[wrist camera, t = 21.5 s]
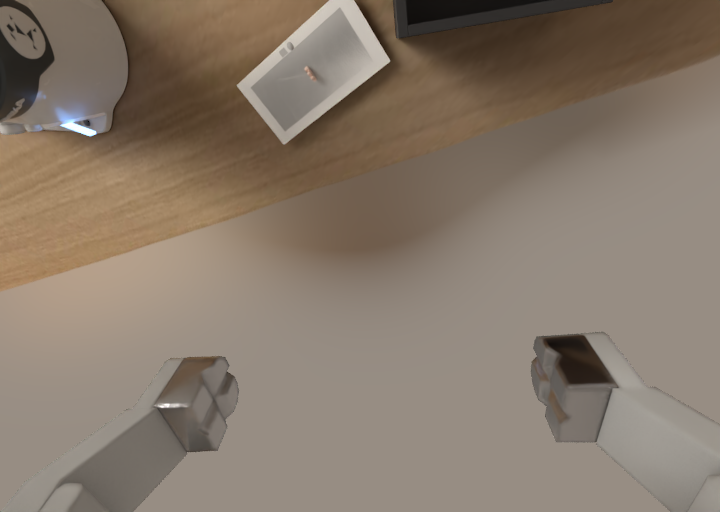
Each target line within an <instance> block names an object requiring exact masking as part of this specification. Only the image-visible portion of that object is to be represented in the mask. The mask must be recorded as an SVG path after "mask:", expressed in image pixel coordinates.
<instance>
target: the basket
mask: <svg viewBox="0 0 720 512" xmlns="http://www.w3.org/2000/svg"><path fill="white" fill-rule="evenodd" d="M610 2H613V0H393V6H394V18H395V30H396V38H404V37H410V36H416V35H422V34H428V33H434V32H439V31H445V30H451V29H457V28H463V27H469V26H475V25H481V24H487V23H492V22H498V21H504V20H510V19H516V18H522V17H528V16H534V15H540V14H546V13H551V12H557V11H563V10H569V9H575V8H581V7H587V6H593V5H599V4H604V3H610Z"/></svg>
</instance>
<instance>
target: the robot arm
mask: <svg viewBox="0 0 720 512" xmlns="http://www.w3.org/2000/svg"><path fill="white" fill-rule="evenodd" d="M127 79H128V57H127V52H126V47H125V43H124V40H123V37H122V35H121V32H120V30H119V28H118V25H117V23H116V21H115V20H114V18H113V16H112V14H111V13H110V11H109V10H108V8H107V7H106V5H105V4H104V3H103V1H102V0H0V133H1V134H3V135H12V134H20V133H24V132H26V130H27V131H28V132H36V131H41V130H55V131H70V132H80V133H83V134H85V135H88V136H91V135H95V134H96V133H105V132H108V131H109V130H110V128H111V125H112V118H113V109H114V107H115V105H116V103H117V102H118V100H119V99H120V97H121V96H122V94H123V92H124V90H125V87H126V84H127ZM87 119H88V120H89V121H90V124H89V123H88V121H87ZM533 349H534V351H535V353H536V355H537V357H536V358H535V359H534V360H533V361H532V364H531V377H532V383H533V387H534V390H535V393H536V395H537V398H538V400H539V401H540V402H542V403H543V404H544V405H546V406H547V407H546V414H545V417H546V419H547V422H548V424H549V427H550V429H551V431H552V433H553V436H554V438H555V441H556V442H596V445H597V446H599V447H600V448H601V449H602V450H603V451H604V452H605V453H606V454H607V455H609V456H610V457H611V458H612V459H613V460H614V461H615V462H616V463H617V464H618V465H620V466H621V467H622V468H623V469H624V470H625V471H626V472H627V473H628V474H629V475H631V476H632V477H633V478H634V479H635V480H636V481H637V482H638V483H639V484H640V485H642V486H643V487H644V488H645V489H646V490H647V491H648V492H650V494H651V495H653V496H654V497H655V498H656V499H657V500H658V501H659V502H660V503H661V504H663V505H664V506H665V507H666V508H667V509H668V510H669V511H670V512H720V424H719V423H717V422H715V421H714V420H712V419H710V418H708V417H707V416H705V415H703V414H702V413H700V412H698V411H696V410H694V409H693V408H691V407H689V406H687V405H686V404H684V403H682V402H680V401H679V400H677V399H675V398H674V397H672V396H670V395H668V394H667V393H665V392H663V391H661V390H660V389H658V388H656V387H647V386H646V384H645V383H644V382H643V380H642V379H641V378H640V376H639V375H638V374H637V372H636V371H635V370H634V368H633V367H632V366H631V364H630V363H629V362H628V360H627V359H626V358H625V357H624V355H623V354H622V353H621V351H620V350H619V349H618V347H617V346H616V345H615V343H614V342H613V341H612V339H611V338H610V337H609V335H607V334H606V333H604V332H595V333H581V334H568V335H553V336H539V337H536V339H535V341H534V347H533ZM228 367H229V364H228V362H227V360H226V358H225V357H222V356H212V357H187V358H170V359H169V360H167V361H166V362H165V363H164V364H163V366H162V367H161V369H160V370H159V371H158V373H157V374H156V376H155V377H154V379H153V380H152V381H151V383H150V384H149V386H148V387H147V389H146V390H145V391H144V393H143V394H142V396H141V397H140V399H139V400H138V402H137V403H136V404H135V406H134V407H133V409H126V410H125V411H124V412H123V413H121V414H119V415H118V416H117V417H115V418H114V419H112V420H111V421H110V422H108V423H107V424H106V425H104V426H103V427H101V428H100V429H98V430H97V431H96V432H94V433H93V434H91V435H90V436H89V437H87V438H86V439H84V440H83V441H82V442H80V443H79V444H77V445H76V446H75V447H73V448H72V449H71V450H69V451H68V452H66V453H65V454H63V455H62V456H61V457H59V458H58V459H56V460H55V461H54V462H52V463H51V464H49V465H48V466H47V467H45V468H44V469H42V470H41V471H40V472H38V473H37V474H35V475H34V476H33V477H31V478H30V479H28V480H27V481H26V482H25V483H24V484H23V485H22V486H21V488H20V489H19V490H18V491H17V492H16V494H15V495H14V496H13V497H12V499H11V500H10V501H9V502H8V503H7V505H6V506H5V507H4V508H3V510H2V511H1V512H133V511H134V510H135V509H136V508H137V507H138V506H139V505H140V504H141V503H142V502H143V501H144V500H145V498H146V497H147V496H148V495H149V494H150V493H151V492H152V491H153V490H154V489H155V488H156V487H157V486H158V485H159V484H160V482H162V480H163V479H164V478H165V477H166V476H167V475H168V474H169V473H170V472H171V471H172V470H173V469H174V468H175V466H176V465H177V464H178V463H179V462H180V461H181V460H182V459H183V458H184V457H185V456H186V455H187V452H200V451H217V450H218V448H219V446H220V443H221V441H222V439H223V436H224V434H225V432H226V429H227V424H226V421H225V419H226V418H227V417H228V416H230V415H231V414H232V413H233V412H234V409H235V407H236V405H237V402H238V393H239V390H238V384H237V381H236V379H235V377H234V376H233V375H231V374H230V373H228V372H227V370H228Z"/></svg>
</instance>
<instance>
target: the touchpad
mask: <svg viewBox="0 0 720 512" xmlns="http://www.w3.org/2000/svg"><path fill="white" fill-rule="evenodd" d="M389 62H390V59H389V58H388V56H387V54H386V53H385V51H384V49H383V48H382V46H381V44H380V43H379V41H378V39H377V38H376V36H375V34H374V33H373V31H372V29H371V28H370V26H369V24H368V23H367V21H366V19H365V18H364V16H363V14H362V13H361V11H360V9H359V8H358V6H357V4H356V3H355V1H354V0H329V1H328V2H327V3H326V4H325V5H324V6H322V7H321V8H320V9H319V10H318V11H317V12H316V13H315V14H314V15H313V16H312V17H310V18H309V19H308V20H307V21H306V22H305V23H304V24H303V25H302V26H301V27H300V28H298V29H297V30H296V31H295V32H294V33H293V34H292V35H291V36H290V37H289V38H288V39H286V40H285V41H284V42H283V43H282V44H281V45H280V46H279V47H278V48H277V49H276V50H275V51H273V52H272V53H271V54H270V55H269V56H268V57H267V58H266V59H265V60H264V61H263V62H261V63H260V64H259V65H258V66H257V67H256V68H255V69H254V70H253V71H252V72H251V73H249V74H248V75H247V76H246V77H245V78H244V79H243V80H242V81H241V82H240V83H239V84H238V85H236V86H237V87H238V88H239V89H240V91H241V92H242V93H243V94H244V96H245V97H246V98H247V99H248V101H249V102H250V103H251V104H252V106H253V107H254V108H255V109H256V111H257V112H258V113H259V114H260V116H261V117H262V118H263V120H264V121H265V122H266V123H267V125H268V126H269V127H270V128H271V130H272V131H273V132H274V133H275V135H276V136H277V137H278V138H279V140H280V141H281V142H282V143H283V145H285V144H286V143H287V142H288V141H290V140H291V139H292V138H293V137H295V136H296V135H297V134H299V133H300V132H301V131H302V130H304V129H305V128H306V127H307V126H309V125H310V124H311V123H313V122H314V121H315V120H316V119H318V118H319V117H320V116H321V115H323V114H324V113H325V112H327V111H328V110H329V109H330V108H332V107H333V106H334V105H335V104H337V103H338V102H339V101H341V100H342V99H343V98H344V97H346V96H347V95H348V94H349V93H351V92H352V91H353V90H355V89H356V88H357V87H358V86H360V85H361V84H362V83H363V82H365V81H366V80H367V79H369V78H370V77H371V76H372V75H374V74H375V73H376V72H377V71H379V70H380V69H381V68H382V67H384V66H385V65H386V64H388V63H389Z"/></svg>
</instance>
